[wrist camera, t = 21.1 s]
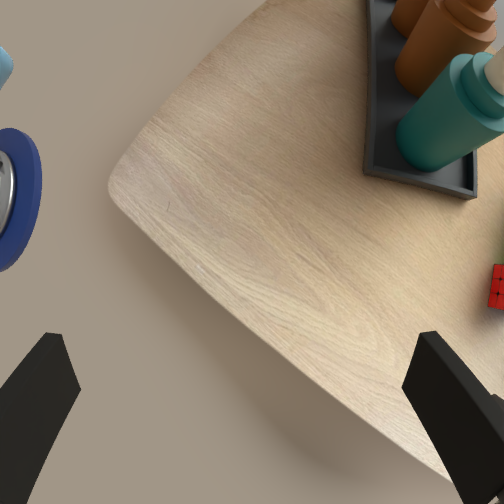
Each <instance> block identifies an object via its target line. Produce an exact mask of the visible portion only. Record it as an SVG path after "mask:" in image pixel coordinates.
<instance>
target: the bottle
mask: <svg viewBox="0 0 504 504" xmlns="http://www.w3.org/2000/svg"><path fill="white" fill-rule="evenodd" d="M503 133H504V46H503V47H502V48H501V49H500V50H499V51H498V52H497V53H496V54H495V55H492V54H490V53H487V52H478V53H476V54H475V55H471V54H460V55H457V56H455V57H454V58H453V59H452V60H451V62H450V63H449V64H448V65H447V66H446V68H445V69H444V70H443V71H442V72H441V74H440V75H439V76H438V77H437V78H436V80H435V81H434V82H433V83H432V84H431V86H430V87H429V88H428V89H427V90H426V91H425V93H424V94H423V95H422V96H421V97H420V99H419V100H418V101H417V102H416V103H415V104H414V106H413V107H412V108H411V109H410V110H409V111H408V113H407V114H406V115H405V116H404V117H403V118H402V120H401V121H400V122H399V124H398V126H397V128H396V143H397V147H398V149H399V151H400V153H401V155H402V156H403V158H404V159H405V160H406V161H407V162H408V163H409V164H410V165H411V166H413V167H414V168H416V169H418V170H420V171H423V172H435V171H438V170H440V169H442V168H443V167H445V166H447V165H449V164H451V163H452V162H454V161H456V160H458V159H459V158H461V157H463V156H465V155H467V154H468V153H470V152H472V151H474V150H475V149H477V148H479V147H481V146H482V145H484V144H486V143H488V142H489V141H491V140H493V139H495V138H496V137H498V136H500V135H502V134H503Z"/></svg>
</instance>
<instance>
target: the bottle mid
mask: <svg viewBox="0 0 504 504" xmlns="http://www.w3.org/2000/svg"><path fill="white" fill-rule="evenodd" d="M495 1H496V0H429V1H428V3H427V5H426V7H425V9H424V11H423V13H422V15H421V16H420V18H419V20H418V22H417V24H416V26H415V27H414V29H413V31H412V33H411V35H410V36H409V38H408V40H407V42H406V44H405V46H404V47H403V49H402V51H401V53H400V55H399V56H398V58H397V60H396V62H395V73H396V76H397V78H398V80H399V82H400V83H401V84H402V86H403V87H404V88H405V89H406V90H407V91H409V92H410V93H411V94H413V95H414V96H416V97H418V98H420V97H421V96H422V95H423V94H424V93H425V91H426V90H427V89H428V88H429V87H430V86H431V84H432V83H433V82H434V81H435V80H436V78H437V77H438V76H439V75H440V74H441V72H442V71H443V70H444V69H445V68H446V66H447V65H448V64H449V63H450V62H451V60H452V59H453V58H454V57H455V56H457V55H460V54H471V55H475V54H476V53H478V52H484V50H485V49H486V48H487V47H488V46H489V45H490V44H491V43H492V42H493V41H494V40H495V38H496V34H497V32H496V28H495V25H494V22H495V20H496V19H497V12H496V10H495V8H494V7H493V4H494V3H495Z"/></svg>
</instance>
